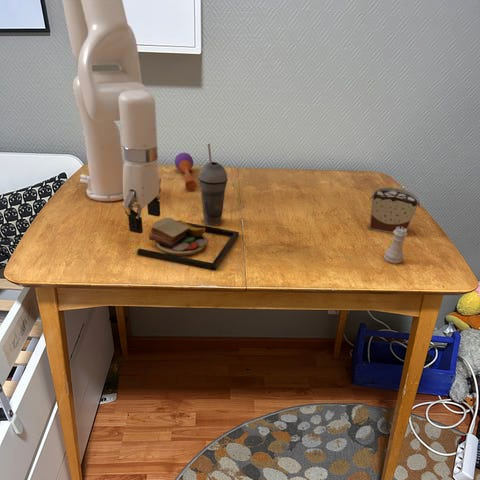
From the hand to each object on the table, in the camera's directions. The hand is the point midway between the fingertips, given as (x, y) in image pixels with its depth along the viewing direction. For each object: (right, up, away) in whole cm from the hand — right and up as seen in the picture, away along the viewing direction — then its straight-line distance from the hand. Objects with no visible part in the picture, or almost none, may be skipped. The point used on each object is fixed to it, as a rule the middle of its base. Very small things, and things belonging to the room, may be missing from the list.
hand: (145, 223), depth 114 cm
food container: (+63, +1, +13) cm, 64 cm away
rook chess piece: (+60, -9, -2) cm, 61 cm away
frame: (+11, -5, -1) cm, 12 cm away
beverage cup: (+16, +2, +10) cm, 19 cm away
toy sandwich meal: (+8, -6, -1) cm, 10 cm away
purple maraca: (+6, +21, +34) cm, 41 cm away
